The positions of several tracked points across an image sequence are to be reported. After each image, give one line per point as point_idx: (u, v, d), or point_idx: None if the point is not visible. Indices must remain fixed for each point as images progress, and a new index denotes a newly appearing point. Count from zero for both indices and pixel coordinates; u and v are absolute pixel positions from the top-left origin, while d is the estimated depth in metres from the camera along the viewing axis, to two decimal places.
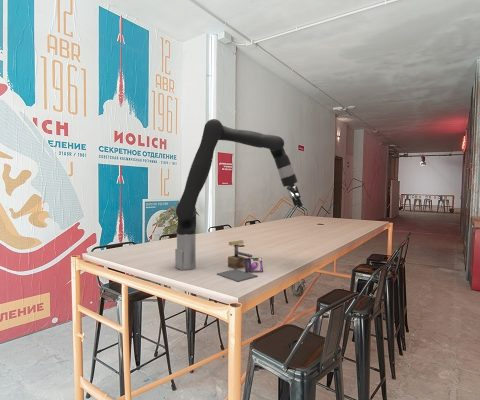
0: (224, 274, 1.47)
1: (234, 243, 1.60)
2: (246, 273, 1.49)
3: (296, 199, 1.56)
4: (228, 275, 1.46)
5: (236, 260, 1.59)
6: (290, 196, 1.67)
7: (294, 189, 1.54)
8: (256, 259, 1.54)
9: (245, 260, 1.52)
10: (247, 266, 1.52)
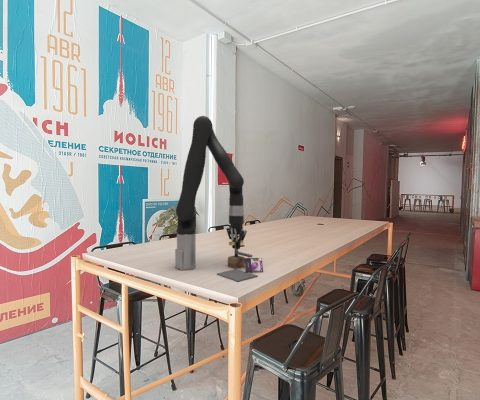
0: (224, 274, 1.47)
1: (234, 243, 1.60)
2: (246, 273, 1.49)
3: (238, 241, 1.60)
4: (228, 275, 1.46)
5: (236, 260, 1.59)
6: (230, 237, 1.64)
7: (243, 233, 1.57)
8: (256, 259, 1.54)
9: (245, 260, 1.52)
10: (247, 266, 1.51)
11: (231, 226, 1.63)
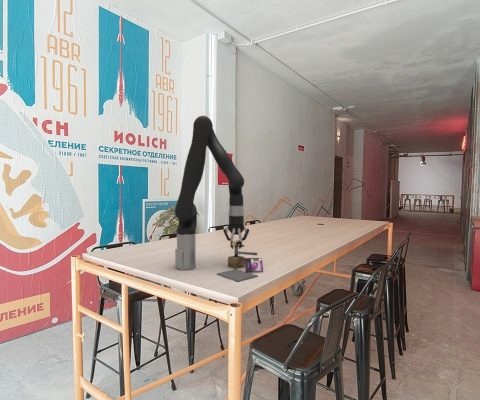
0: (224, 274, 1.47)
1: (236, 243, 1.60)
2: (246, 273, 1.49)
3: (241, 241, 1.62)
4: (228, 275, 1.46)
5: (236, 260, 1.59)
6: (229, 238, 1.61)
7: None
8: (256, 259, 1.54)
9: (245, 260, 1.52)
10: (247, 266, 1.51)
11: (231, 227, 1.61)
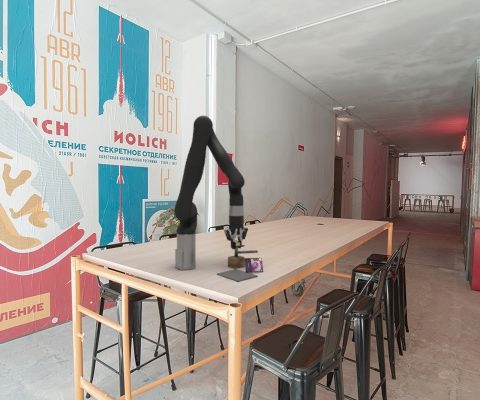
0: (224, 274, 1.47)
1: None
2: (246, 273, 1.49)
3: (241, 240, 1.63)
4: (228, 275, 1.46)
5: (236, 260, 1.59)
6: (231, 238, 1.59)
7: None
8: (256, 259, 1.54)
9: (245, 260, 1.52)
10: (247, 266, 1.51)
11: (233, 227, 1.60)
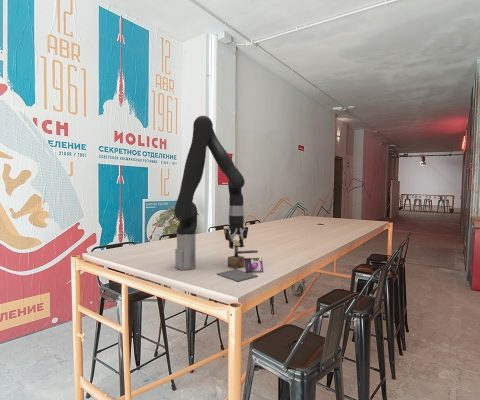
0: (224, 274, 1.47)
1: None
2: (246, 273, 1.49)
3: (243, 239, 1.64)
4: (228, 275, 1.46)
5: (236, 260, 1.59)
6: (230, 238, 1.59)
7: None
8: (256, 259, 1.54)
9: (245, 260, 1.52)
10: (247, 266, 1.51)
11: (233, 227, 1.60)
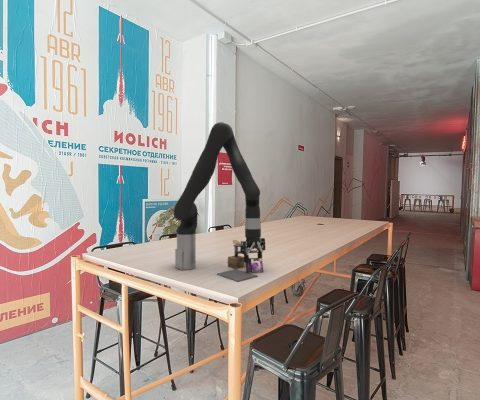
0: (224, 274, 1.47)
1: None
2: (246, 273, 1.49)
3: (262, 251, 1.56)
4: (228, 275, 1.46)
5: (236, 260, 1.59)
6: (245, 252, 1.48)
7: None
8: (256, 259, 1.54)
9: None
10: (247, 266, 1.51)
11: (251, 242, 1.51)
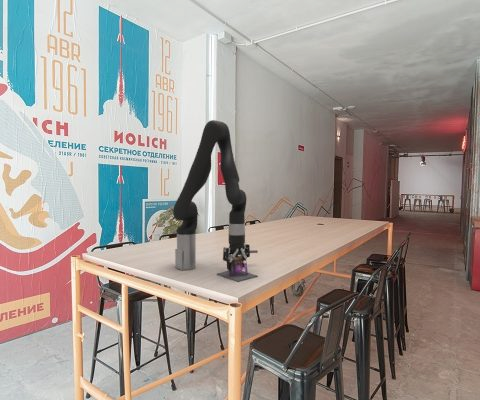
0: (224, 274, 1.47)
1: None
2: (246, 273, 1.49)
3: None
4: (228, 275, 1.46)
5: None
6: (228, 259, 1.42)
7: None
8: (240, 262, 1.47)
9: None
10: None
11: (234, 248, 1.44)
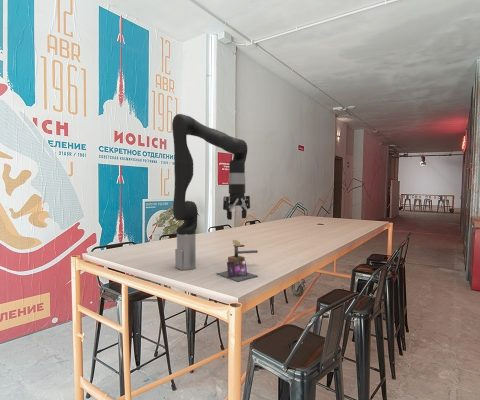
0: (224, 274, 1.47)
1: None
2: None
3: (246, 209, 1.49)
4: None
5: (236, 260, 1.59)
6: (228, 208, 1.41)
7: None
8: (239, 262, 1.46)
9: (228, 264, 1.44)
10: (230, 270, 1.43)
11: (234, 198, 1.43)
